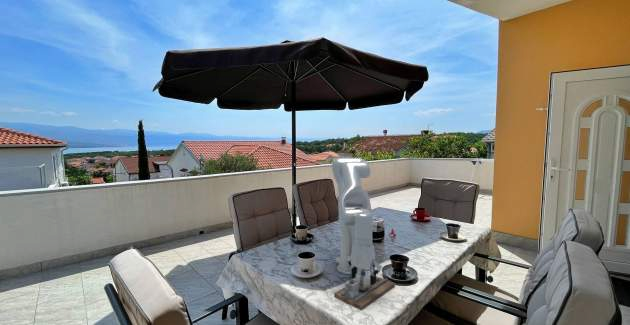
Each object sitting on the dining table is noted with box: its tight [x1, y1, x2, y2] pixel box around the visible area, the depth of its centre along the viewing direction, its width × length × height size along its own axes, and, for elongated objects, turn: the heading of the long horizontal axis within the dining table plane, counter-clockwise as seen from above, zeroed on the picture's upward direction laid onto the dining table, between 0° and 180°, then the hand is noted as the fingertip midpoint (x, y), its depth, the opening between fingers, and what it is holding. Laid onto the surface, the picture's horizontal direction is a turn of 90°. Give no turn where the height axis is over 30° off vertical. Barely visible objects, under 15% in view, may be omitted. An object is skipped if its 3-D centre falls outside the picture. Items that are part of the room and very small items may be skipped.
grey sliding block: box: [355, 269, 371, 291], centre depth 121 cm, size 4×5×8 cm
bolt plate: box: [333, 273, 396, 311], centre depth 122 cm, size 14×26×8 cm, turn 135°
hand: (363, 280), depth 120 cm, fingers open, 9 cm apart
